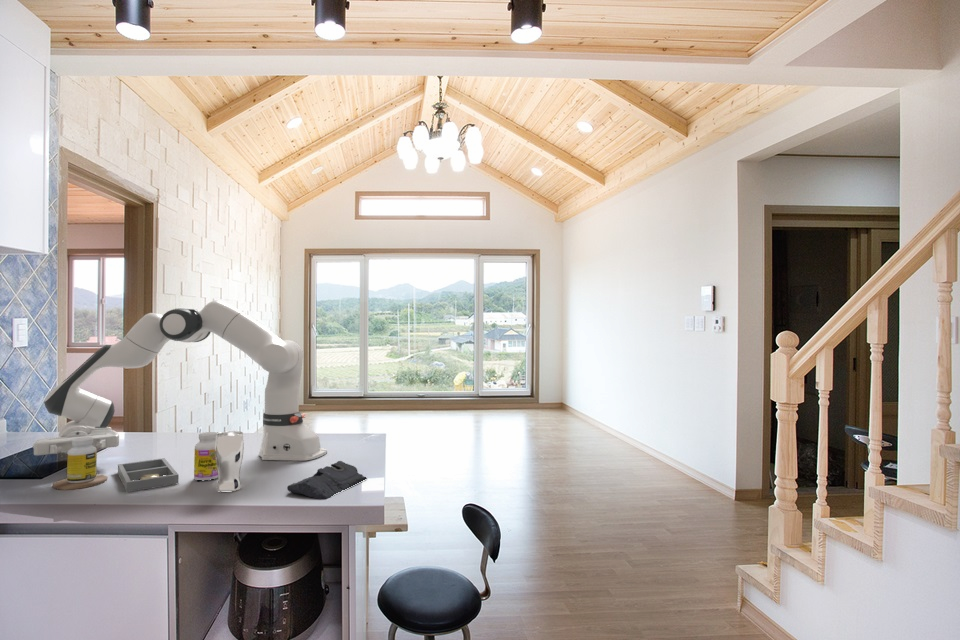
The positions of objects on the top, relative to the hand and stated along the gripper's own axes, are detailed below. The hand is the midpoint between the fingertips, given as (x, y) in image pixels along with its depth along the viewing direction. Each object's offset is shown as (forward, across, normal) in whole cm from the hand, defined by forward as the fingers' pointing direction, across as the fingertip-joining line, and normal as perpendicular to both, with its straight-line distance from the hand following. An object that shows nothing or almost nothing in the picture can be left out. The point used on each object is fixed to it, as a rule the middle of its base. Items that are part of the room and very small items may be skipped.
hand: (79, 448), depth 151 cm
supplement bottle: (+24, +29, +8) cm, 38 cm away
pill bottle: (+8, 0, +8) cm, 11 cm away
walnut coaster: (+8, 0, +8) cm, 11 cm away
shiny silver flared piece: (+38, +31, +8) cm, 50 cm away
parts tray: (+13, +15, +8) cm, 22 cm away
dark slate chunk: (+51, +53, +9) cm, 74 cm away
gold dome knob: (+19, +15, +8) cm, 25 cm away
